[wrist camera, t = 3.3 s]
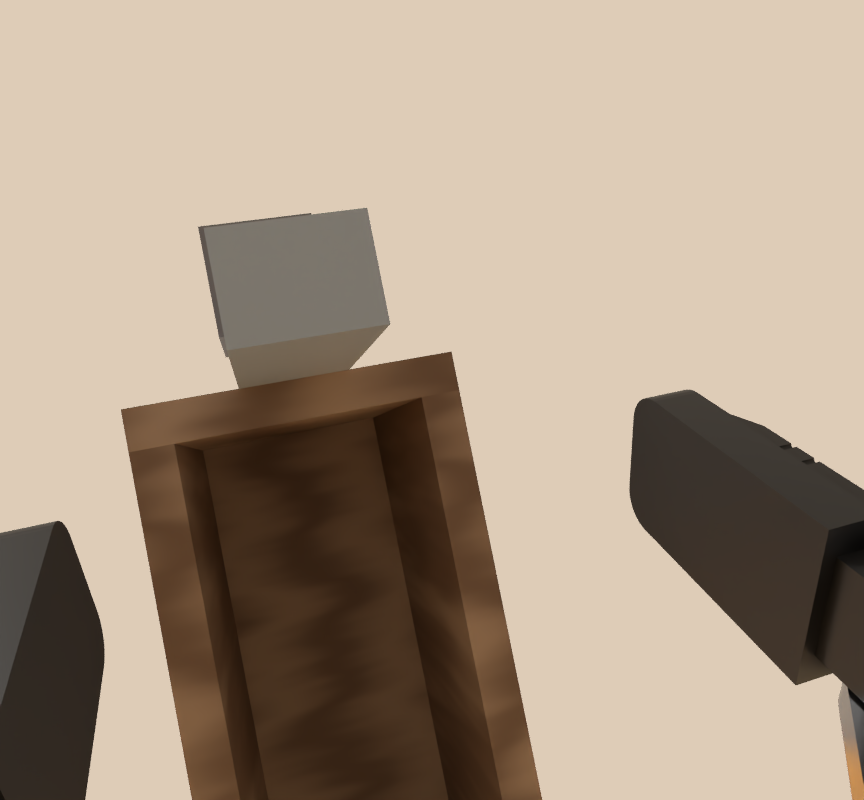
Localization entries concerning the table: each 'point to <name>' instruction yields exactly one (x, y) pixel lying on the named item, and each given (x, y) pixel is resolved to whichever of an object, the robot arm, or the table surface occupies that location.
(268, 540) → the walnut stand
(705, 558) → the robot arm
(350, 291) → the gray l-shaped block
